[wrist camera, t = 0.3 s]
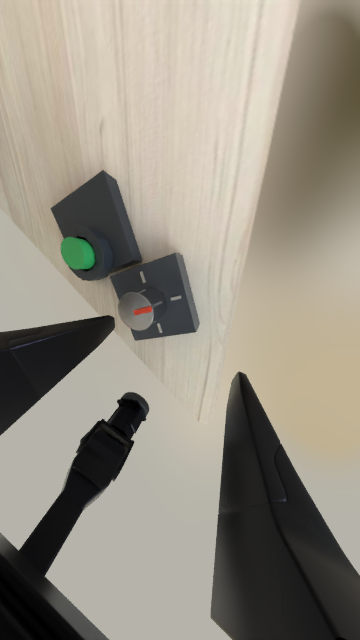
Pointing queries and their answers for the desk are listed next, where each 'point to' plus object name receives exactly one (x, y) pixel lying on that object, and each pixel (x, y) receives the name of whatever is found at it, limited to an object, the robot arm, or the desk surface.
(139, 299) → the program dial
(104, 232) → the button block
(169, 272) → the dial panel
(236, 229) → the desk surface
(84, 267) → the button
